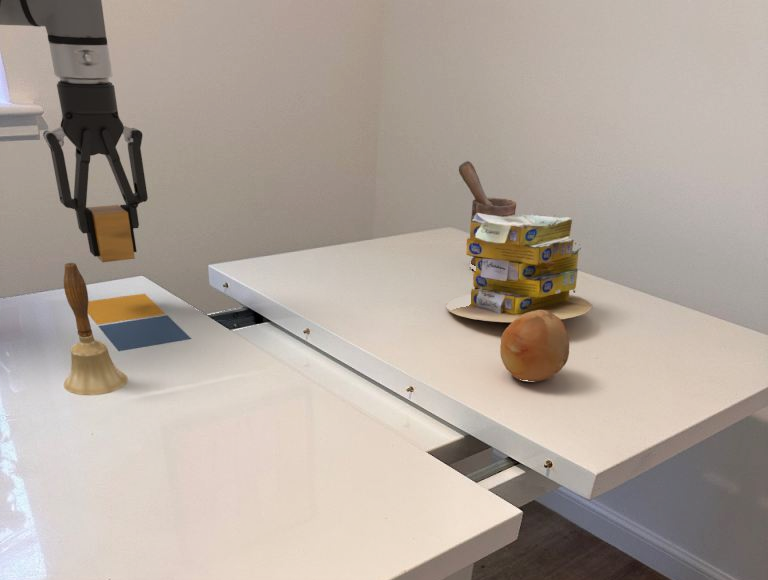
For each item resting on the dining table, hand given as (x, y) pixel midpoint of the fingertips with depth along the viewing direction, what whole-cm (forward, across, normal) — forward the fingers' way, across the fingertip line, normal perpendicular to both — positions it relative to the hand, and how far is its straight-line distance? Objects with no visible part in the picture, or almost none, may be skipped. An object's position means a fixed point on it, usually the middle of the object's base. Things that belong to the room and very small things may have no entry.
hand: (113, 251), depth 113 cm
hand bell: (+10, -11, -26) cm, 30 cm away
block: (+1, 0, 0) cm, 1 cm away
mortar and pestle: (+10, +71, -6) cm, 72 cm away
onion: (+10, +44, -51) cm, 68 cm away
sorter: (+10, 0, -6) cm, 11 cm away
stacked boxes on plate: (+10, +60, -30) cm, 68 cm away
